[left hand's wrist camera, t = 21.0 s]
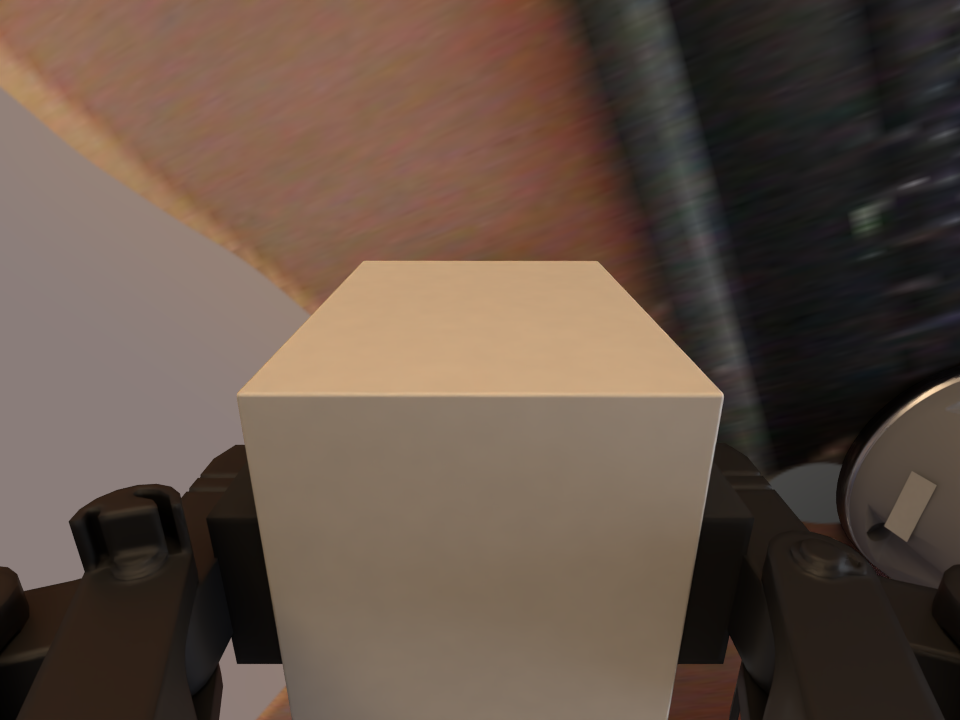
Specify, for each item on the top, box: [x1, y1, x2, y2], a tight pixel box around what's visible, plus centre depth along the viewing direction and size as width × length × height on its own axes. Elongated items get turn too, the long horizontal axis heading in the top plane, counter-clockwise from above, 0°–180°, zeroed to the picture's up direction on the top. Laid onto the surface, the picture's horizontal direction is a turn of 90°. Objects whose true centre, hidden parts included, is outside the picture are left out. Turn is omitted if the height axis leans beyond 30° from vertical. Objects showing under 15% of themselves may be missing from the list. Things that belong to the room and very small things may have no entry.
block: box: [237, 261, 724, 720], centre depth 12 cm, size 6×7×8 cm
